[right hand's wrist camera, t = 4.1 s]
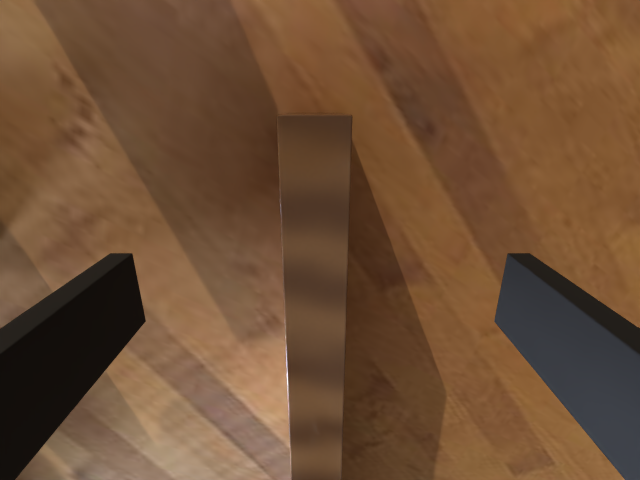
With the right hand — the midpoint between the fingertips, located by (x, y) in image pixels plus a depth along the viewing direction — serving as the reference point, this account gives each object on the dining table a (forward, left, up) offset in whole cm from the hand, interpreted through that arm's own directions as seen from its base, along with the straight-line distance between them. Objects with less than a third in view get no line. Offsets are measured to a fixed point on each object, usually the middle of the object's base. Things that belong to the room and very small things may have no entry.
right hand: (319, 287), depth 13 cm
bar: (-8, -24, -20) cm, 32 cm away
